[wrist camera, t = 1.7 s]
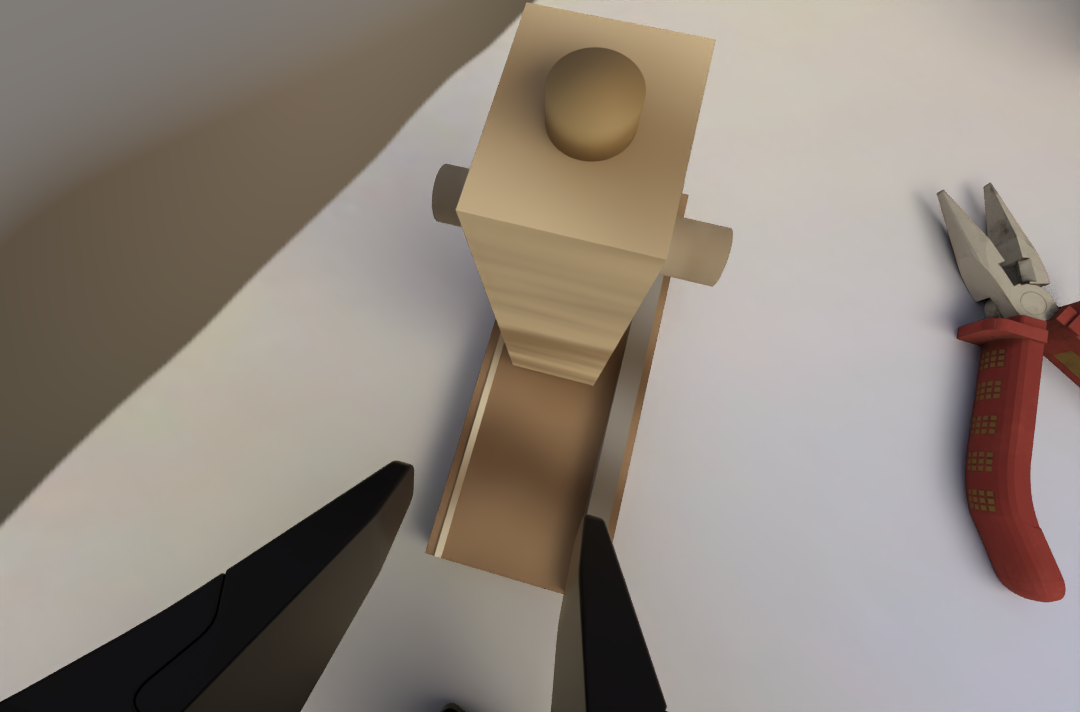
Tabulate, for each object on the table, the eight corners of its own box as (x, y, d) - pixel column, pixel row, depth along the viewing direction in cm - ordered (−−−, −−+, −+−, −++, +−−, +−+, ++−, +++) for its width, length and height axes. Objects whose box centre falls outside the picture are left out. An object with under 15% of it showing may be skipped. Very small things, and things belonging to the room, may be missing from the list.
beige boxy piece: (634, 396, 22) (802, 267, 7) (473, 354, 22) (337, 159, 8) (655, 300, 23) (839, 21, 8) (501, 262, 23) (426, -57, 9)
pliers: (1041, 182, 26) (1093, 153, 24) (1220, 551, 22) (1309, 563, 19) (847, 217, 26) (879, 191, 24) (987, 596, 22) (1045, 614, 19)
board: (595, 594, 21) (601, 612, 19) (433, 547, 22) (418, 557, 20) (680, 209, 26) (694, 183, 23) (543, 178, 26) (542, 150, 24)
